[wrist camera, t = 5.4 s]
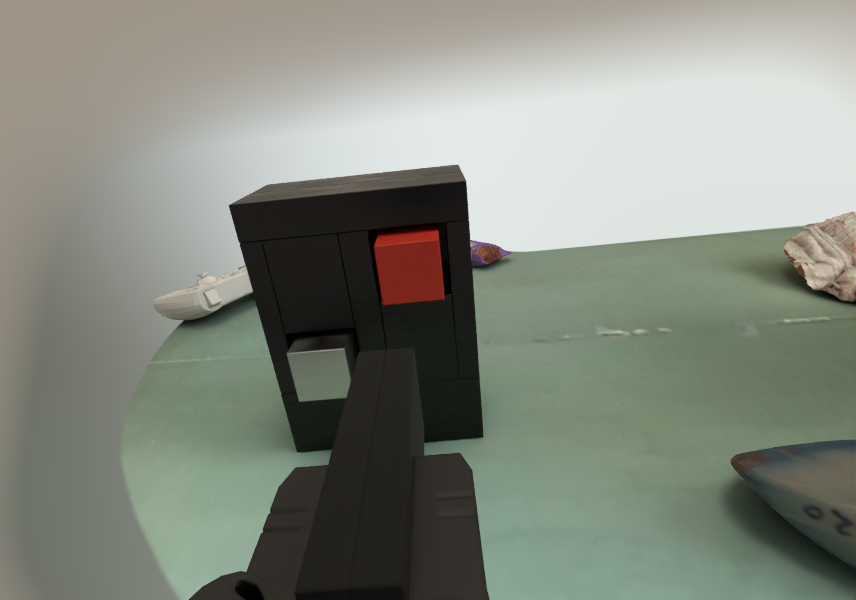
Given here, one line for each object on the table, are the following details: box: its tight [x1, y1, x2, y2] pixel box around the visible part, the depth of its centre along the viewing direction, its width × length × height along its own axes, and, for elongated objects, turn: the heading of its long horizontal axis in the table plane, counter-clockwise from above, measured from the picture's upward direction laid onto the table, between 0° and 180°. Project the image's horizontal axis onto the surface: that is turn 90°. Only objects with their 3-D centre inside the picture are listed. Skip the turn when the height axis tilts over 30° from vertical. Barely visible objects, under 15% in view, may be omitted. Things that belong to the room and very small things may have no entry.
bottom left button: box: [287, 328, 358, 402], centre depth 27 cm, size 3×3×3 cm
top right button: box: [374, 224, 445, 305], centre depth 24 cm, size 3×3×3 cm
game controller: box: [154, 265, 253, 320], centre depth 54 cm, size 14×4×10 cm
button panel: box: [229, 165, 483, 452], centre depth 29 cm, size 6×12×16 cm, turn 90°
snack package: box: [470, 240, 511, 266], centre depth 61 cm, size 12×2×5 cm
